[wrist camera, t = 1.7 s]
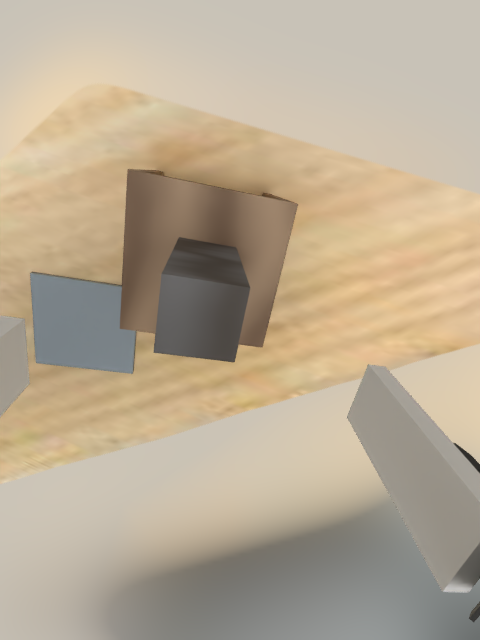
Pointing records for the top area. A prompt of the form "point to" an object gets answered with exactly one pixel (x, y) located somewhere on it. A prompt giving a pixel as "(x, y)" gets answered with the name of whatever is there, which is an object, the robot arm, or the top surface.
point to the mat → (80, 324)
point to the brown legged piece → (201, 264)
